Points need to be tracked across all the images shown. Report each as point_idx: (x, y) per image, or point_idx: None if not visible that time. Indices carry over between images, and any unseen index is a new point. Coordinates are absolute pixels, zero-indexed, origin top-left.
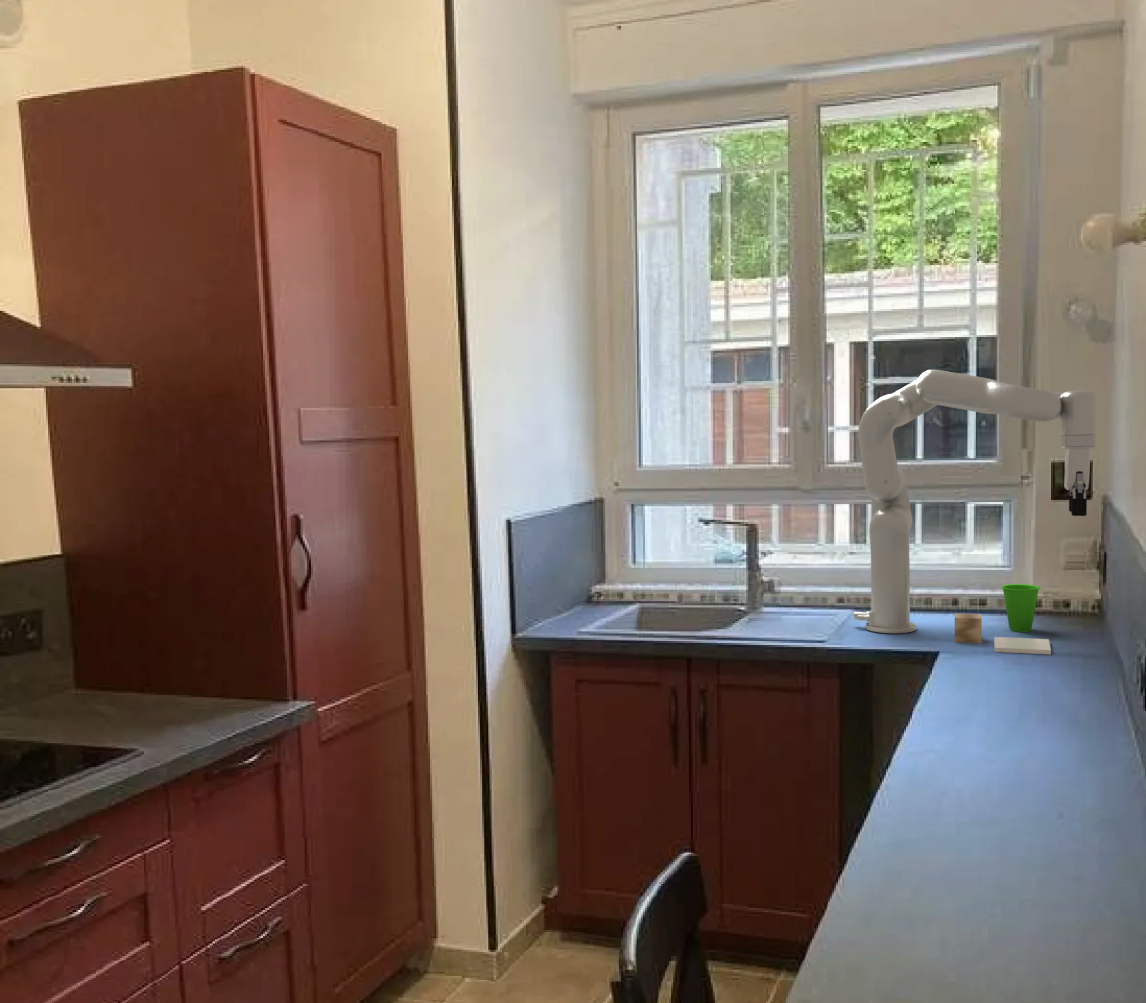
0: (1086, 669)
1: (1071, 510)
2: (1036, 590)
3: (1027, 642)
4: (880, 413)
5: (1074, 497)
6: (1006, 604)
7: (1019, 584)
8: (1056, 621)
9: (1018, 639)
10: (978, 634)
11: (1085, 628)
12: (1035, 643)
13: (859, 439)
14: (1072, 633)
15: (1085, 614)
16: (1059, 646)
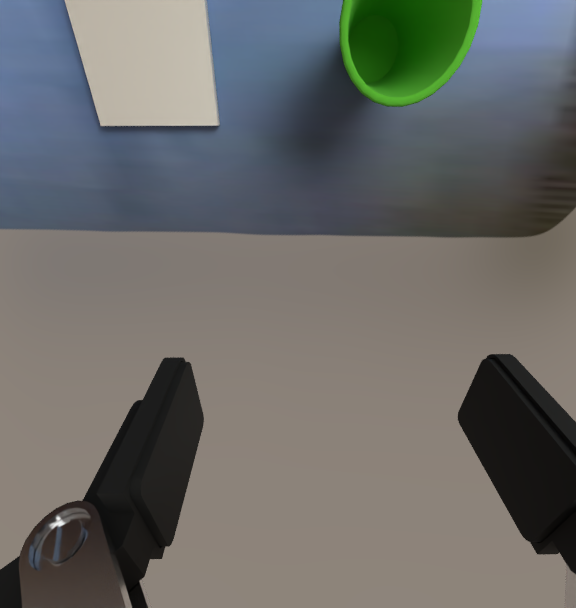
0: (13, 190)
1: (483, 370)
2: (369, 92)
3: (161, 66)
4: None
5: (37, 534)
6: None
7: (474, 19)
8: (478, 155)
9: (189, 40)
10: None
11: (396, 212)
12: (158, 89)
13: None
14: (341, 183)
15: (549, 222)
16: (199, 148)
